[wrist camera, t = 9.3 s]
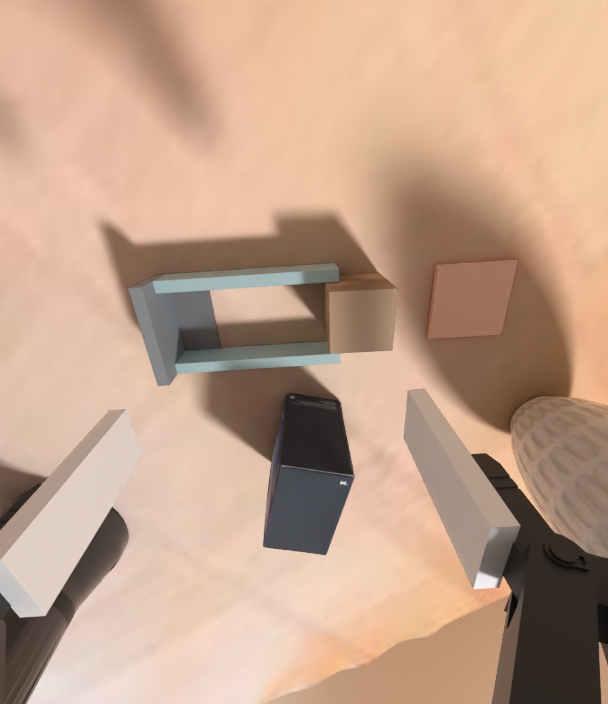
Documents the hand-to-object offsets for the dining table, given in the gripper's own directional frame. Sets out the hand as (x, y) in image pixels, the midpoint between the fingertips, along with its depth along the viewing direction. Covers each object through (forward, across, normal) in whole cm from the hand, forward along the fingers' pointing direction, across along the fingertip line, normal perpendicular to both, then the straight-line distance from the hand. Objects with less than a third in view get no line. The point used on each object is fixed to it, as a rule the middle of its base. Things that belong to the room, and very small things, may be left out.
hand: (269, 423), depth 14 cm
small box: (+17, +1, -15) cm, 22 cm away
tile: (+17, +18, 0) cm, 24 cm away
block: (+17, +6, +1) cm, 18 cm away
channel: (+17, -2, 0) cm, 17 cm away
